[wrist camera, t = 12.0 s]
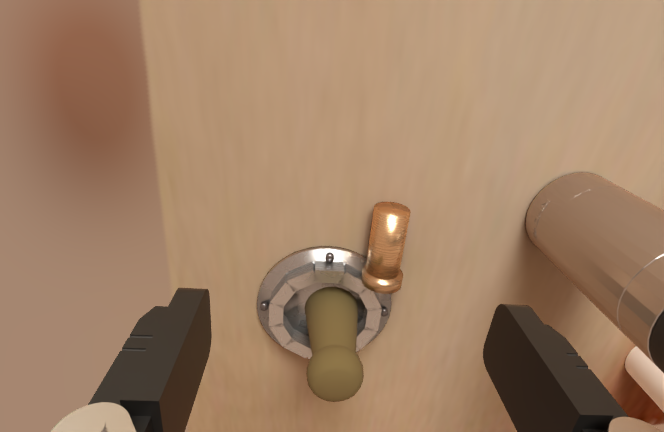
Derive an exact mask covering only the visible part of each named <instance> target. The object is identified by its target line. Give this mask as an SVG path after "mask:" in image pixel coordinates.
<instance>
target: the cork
mask: <svg viewBox="0 0 664 432" xmlns="http://www.w3.org/2000/svg"><path fill="white" fill-rule="evenodd" d="M305 315H306V321H307V327H308V333H309V339H310V345H311V352H312V357H311V358H310V361H309V364H308V367H307V381H308V384H309V387H310V388H311V390H312V391H313V393H314V394H315V395H317V396H318V397H319V398H321V399H323V400H326V401H332V402H337V401H343V400H346V399H349V398H350V397H352V396H354V395H355V394H356V392H357V391H358V390H359V388H360V387H361V384H362V382H363V377H364V375H363V365H362V363H361V361H360V359H359V357H358V355H357V354H356V342H357V321H358V303H357V301H356V299H355V297H354V296H353V295H352V294H351V293H350V292H349V291H347V290H345V289H343V288H339V287H324V288H322V289H319V290H317V291H315V292H314V293H312V294H311V295H310V296H309V298H308V299H307V301H306V304H305Z"/></svg>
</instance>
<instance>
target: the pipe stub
mask: <svg viewBox="0 0 664 432" xmlns="http://www.w3.org/2000/svg"><path fill="white" fill-rule="evenodd" d="M409 217H410V209H409V208H407V207H406V206H404V205H402V204H399V203H394V202H380V203H377V204H375V206H374V212H373V219H372V226H371V233H370V240H369V247H368V254H367V261H366V264H365V265H364V266H363V269H362V276H361V280H362V284H363V285H364V286H365V287H366V288H367V289H369V290H371V291H373V292H376V293H381V294H390V293H394V292H397V291H398V290H399V289H400V288H401V284H402V279H403V273H402V271H401V270H400V265H401V260H402V254H403V249H404V244H405V238H406V233H407V228H408V222H409Z"/></svg>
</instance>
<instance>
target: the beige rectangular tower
mask: <svg viewBox="0 0 664 432" xmlns="http://www.w3.org/2000/svg"><path fill="white" fill-rule="evenodd" d="M625 368H626V371H627V372H628V373H629V374H630V375H631V377H632V378H633V379H634V380H635V381H636V382H637V383H638V384H639V385H640V387H641V388H642V389H643V390H644V391H645V392H646V393H647V394H648V395H649V396H650V398H651V399H652V400H653V401H654V402H655V403H656V404H657V405H658V406H659V408H660V409H661V410H662V411H663V412H664V373H663V372H662V371H661V370H660V369H659V368H658V367H657V366H656V365H655V364H654V363H653V362H652V361H651V360H650V359H649V358H648V357H647V356H646V355H645V354H644V353H643V352H642V351H641V350H640V349H639V348H638V347H637V346H636V347H634V348H633V349H632V350H631V351H630V353H629V354H628V356H627V358H626V361H625Z"/></svg>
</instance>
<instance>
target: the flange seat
mask: <svg viewBox="0 0 664 432" xmlns="http://www.w3.org/2000/svg"><path fill="white" fill-rule="evenodd" d="M366 261H367V258H366V257H364V256H362V255H360V254H358V253H357V252H354V251H351V250H348V249H344V248H340V247H332V246H319V247H311V248H307V249H303V250H300V251H297V252H294V253H292V254H290V255H288V256H286V257H285V258H283V259H282V260H280V261H279V262H278V263H277V264H275V265H274V266H273V267H272V268H271V270H270V271H269V272H268V273H267V275H266V276H265V278H264V279H263V282H262V284H261V286H260V290H259V294H258V300H257V309H258V315H259V319H260V321H261V323H262V326H263V327H264V329H265V331H266V332H267V333H268V334H269V336H270V337H271V338H272V339H273V340H274V341H276V342H277V343H278V344H280V345H281V346H282V347H284V348H285V349H287V350H290V351H292V352H294V353H296V354H298V355H300V356H302V357H304V358H307V357H308V359H310V358H311V357H312V352H311V345H310V339H309V333H308V327H307V321H306V315H305V304H306V301H307V299H308V298H309V296H310V295H311V294H312V293H314V292H315V291H317V290H319V289H322V288H324V287H339V288H343V289H345V290H347V291H349V292H350V293H351V294H352V295H353V296H354V297H355V299H356V301H357V303H358V321H357V342H356V352H357V351H360V349H362V348H363V347H364V346H365V345H367V344H368V343H369V342H371V341H372V340H373V339H374V338H375V337H376V336H377V335H378V334H379V333H380V332H381V331H382V329H383V328H384V326H385V324H386V322H387V320H388V318H389V314H390V311H391V294H381V293H376V292H373V291H371V290H369V289H367V288H366V287H365V286H364V285H363V284H362V280H361V276H362V269H363V266H364V265H365V264H366Z"/></svg>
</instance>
